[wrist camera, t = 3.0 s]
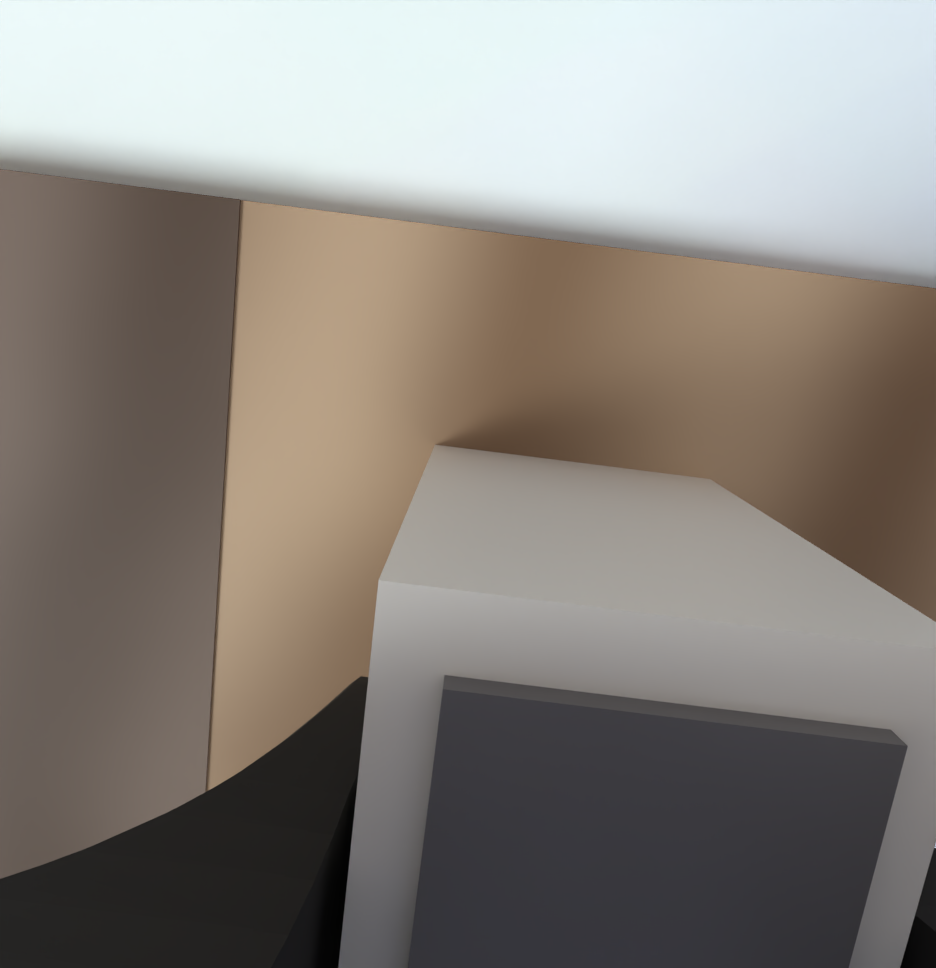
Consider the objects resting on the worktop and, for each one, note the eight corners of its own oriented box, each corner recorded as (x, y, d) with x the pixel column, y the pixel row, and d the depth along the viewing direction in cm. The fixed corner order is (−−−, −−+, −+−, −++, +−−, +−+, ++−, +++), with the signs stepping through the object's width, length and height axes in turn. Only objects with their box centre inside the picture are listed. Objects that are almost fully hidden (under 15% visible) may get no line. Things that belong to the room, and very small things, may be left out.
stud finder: (709, 479, 11) (1010, 667, 5) (619, 948, 12) (754, 1548, 6) (435, 444, 11) (374, 590, 5) (380, 919, 12) (281, 1494, 6)
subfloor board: (1009, 303, 11) (1042, 302, 10) (803, 1087, 14) (819, 1123, 13) (-93, 163, 11) (-130, 153, 10) (-71, 983, 13) (-99, 1014, 13)
